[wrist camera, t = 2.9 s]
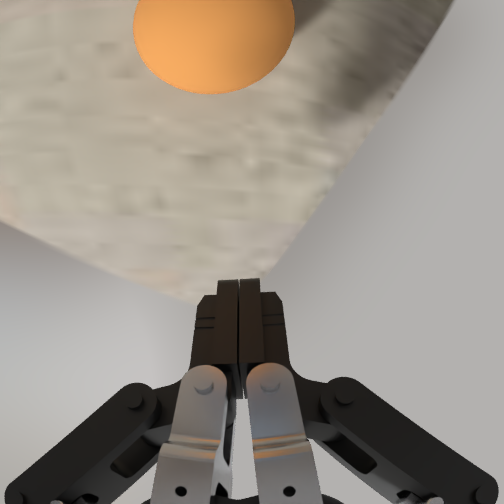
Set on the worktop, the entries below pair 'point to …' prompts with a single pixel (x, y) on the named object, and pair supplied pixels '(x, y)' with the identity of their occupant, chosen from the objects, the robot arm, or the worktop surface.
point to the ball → (213, 41)
